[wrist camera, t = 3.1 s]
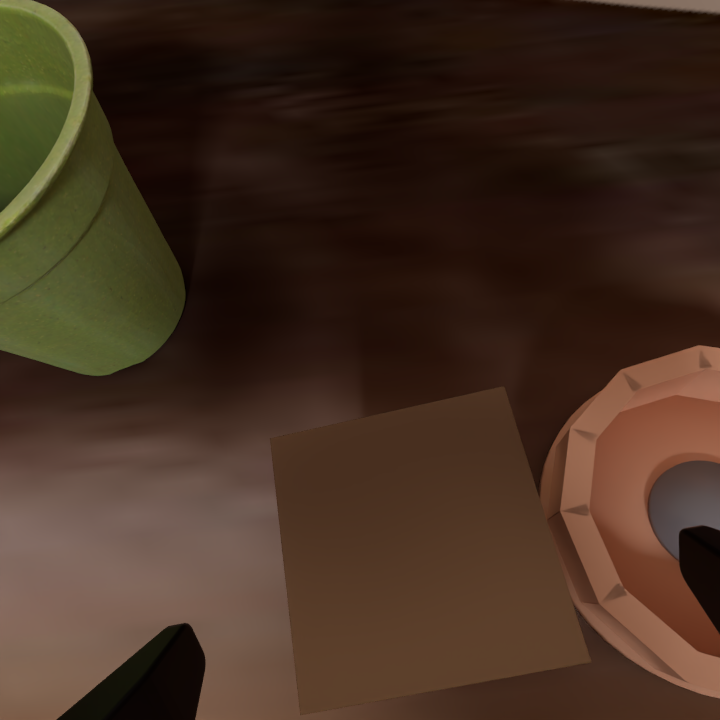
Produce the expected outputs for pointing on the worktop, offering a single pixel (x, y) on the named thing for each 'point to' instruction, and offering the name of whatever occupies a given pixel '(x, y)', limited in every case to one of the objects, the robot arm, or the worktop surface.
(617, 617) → the tan shallow dish
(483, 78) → the worktop surface
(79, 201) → the plant pot
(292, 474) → the tall square post
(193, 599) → the worktop surface
